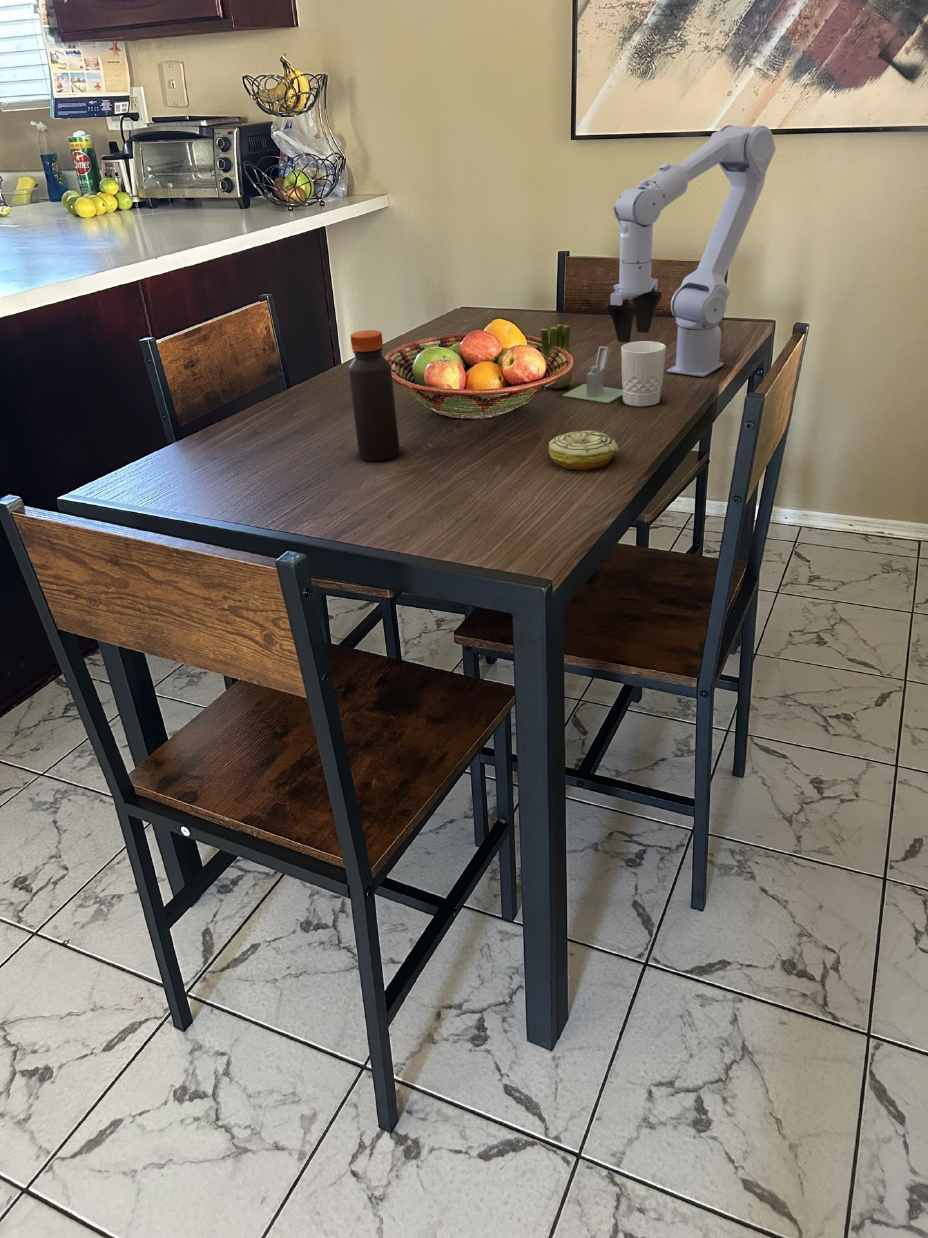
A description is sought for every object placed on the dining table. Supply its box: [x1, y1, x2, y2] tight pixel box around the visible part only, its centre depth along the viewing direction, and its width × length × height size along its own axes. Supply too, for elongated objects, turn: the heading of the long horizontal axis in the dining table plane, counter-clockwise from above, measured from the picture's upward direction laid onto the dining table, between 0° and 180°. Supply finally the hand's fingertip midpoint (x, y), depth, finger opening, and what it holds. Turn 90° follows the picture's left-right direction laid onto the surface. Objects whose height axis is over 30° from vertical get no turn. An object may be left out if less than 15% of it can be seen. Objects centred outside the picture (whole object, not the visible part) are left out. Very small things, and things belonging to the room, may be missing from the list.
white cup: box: [620, 340, 667, 407], centre depth 170 cm, size 8×8×10 cm
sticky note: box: [561, 383, 623, 404], centre depth 177 cm, size 8×10×1 cm
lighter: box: [586, 345, 611, 398], centre depth 176 cm, size 7×2×8 cm, turn 150°
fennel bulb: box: [540, 323, 573, 390], centre depth 179 cm, size 6×5×12 cm
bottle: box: [348, 329, 400, 463], centre depth 151 cm, size 7×7×20 cm
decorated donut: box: [548, 429, 619, 471], centre depth 147 cm, size 10×11×4 cm
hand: (633, 336), depth 176 cm, fingers open, 7 cm apart
